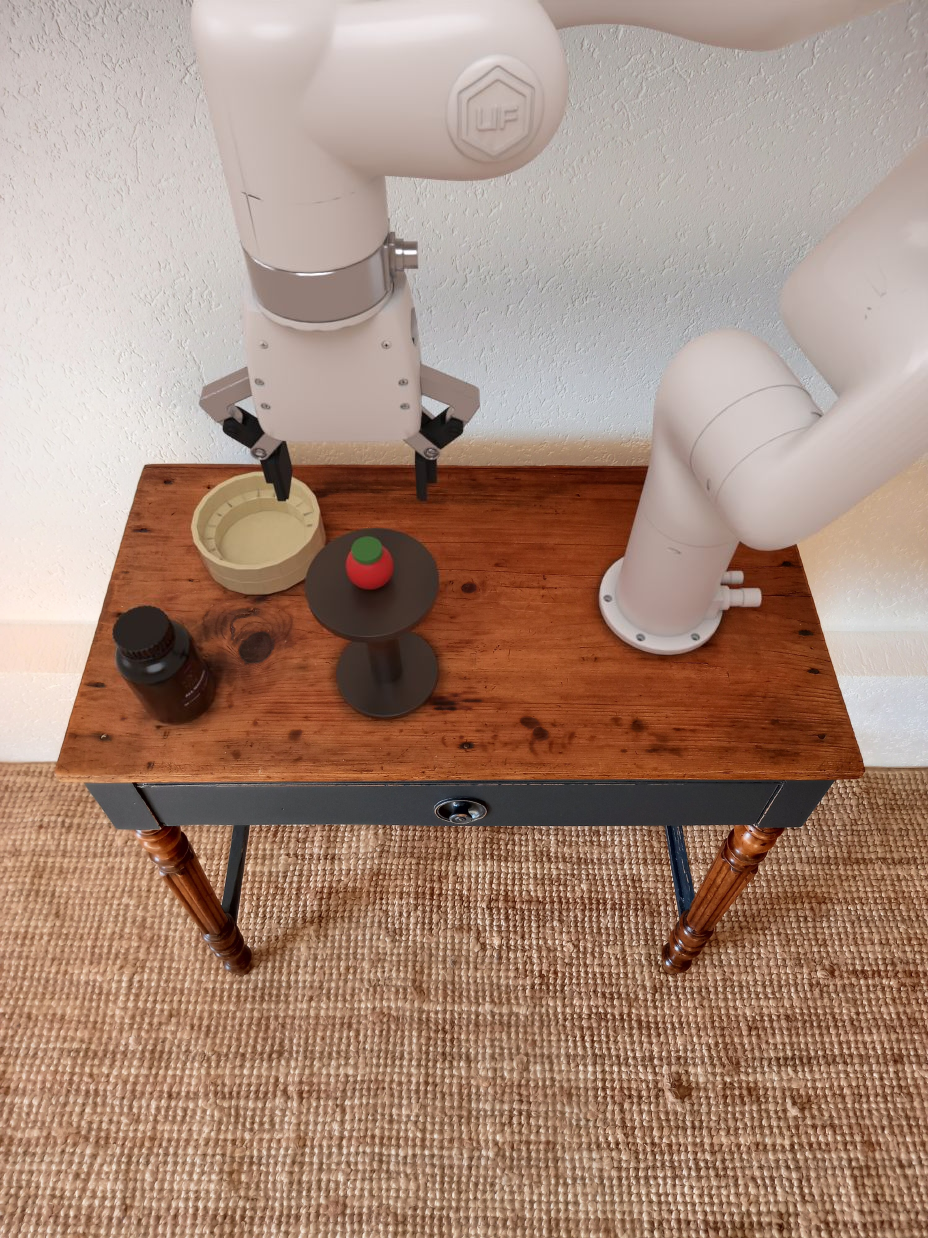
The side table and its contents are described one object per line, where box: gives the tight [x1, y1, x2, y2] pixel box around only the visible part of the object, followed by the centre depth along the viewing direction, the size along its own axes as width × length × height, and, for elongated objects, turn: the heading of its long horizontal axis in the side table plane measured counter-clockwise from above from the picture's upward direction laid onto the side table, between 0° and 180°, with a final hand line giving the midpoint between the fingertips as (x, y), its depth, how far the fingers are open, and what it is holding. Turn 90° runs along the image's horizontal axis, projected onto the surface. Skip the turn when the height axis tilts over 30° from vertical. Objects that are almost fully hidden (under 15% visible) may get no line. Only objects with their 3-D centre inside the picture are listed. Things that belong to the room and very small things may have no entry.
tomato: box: [346, 536, 393, 590], centre depth 64 cm, size 4×4×4 cm
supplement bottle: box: [111, 605, 216, 725], centre depth 73 cm, size 7×7×12 cm
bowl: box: [190, 471, 327, 595], centre depth 86 cm, size 13×13×5 cm
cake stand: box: [304, 527, 440, 721], centre depth 72 cm, size 11×11×16 cm
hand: (354, 486), depth 56 cm, fingers open, 9 cm apart
